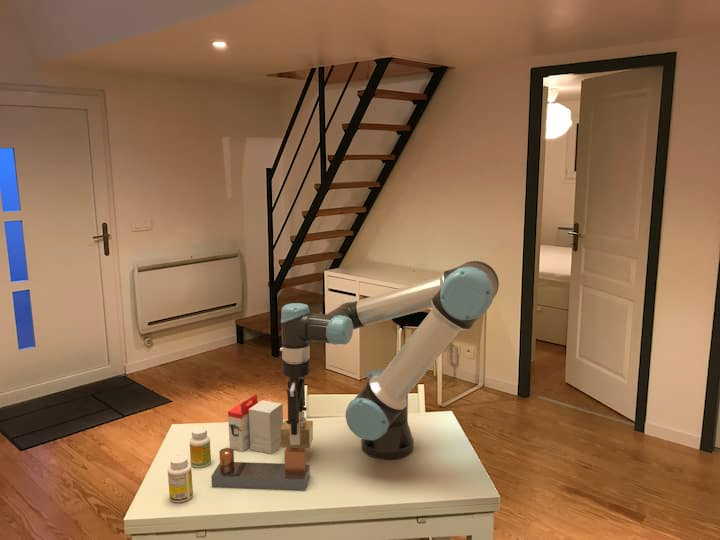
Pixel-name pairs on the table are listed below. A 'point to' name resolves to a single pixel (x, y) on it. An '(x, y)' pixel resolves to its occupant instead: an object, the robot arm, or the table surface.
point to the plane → (263, 472)
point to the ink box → (240, 424)
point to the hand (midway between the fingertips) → (297, 438)
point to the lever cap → (305, 434)
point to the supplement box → (265, 426)
